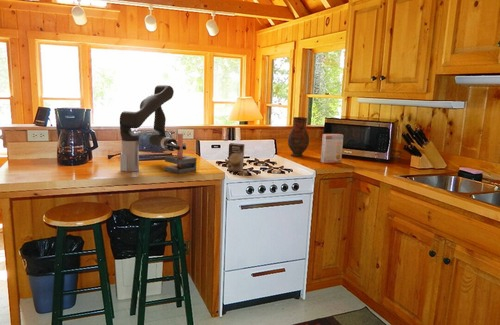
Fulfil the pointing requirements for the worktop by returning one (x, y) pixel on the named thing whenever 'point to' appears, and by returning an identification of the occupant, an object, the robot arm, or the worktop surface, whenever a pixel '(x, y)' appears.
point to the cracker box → (331, 148)
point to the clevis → (186, 162)
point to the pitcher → (298, 137)
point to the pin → (180, 152)
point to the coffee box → (236, 157)
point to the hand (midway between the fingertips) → (182, 148)
